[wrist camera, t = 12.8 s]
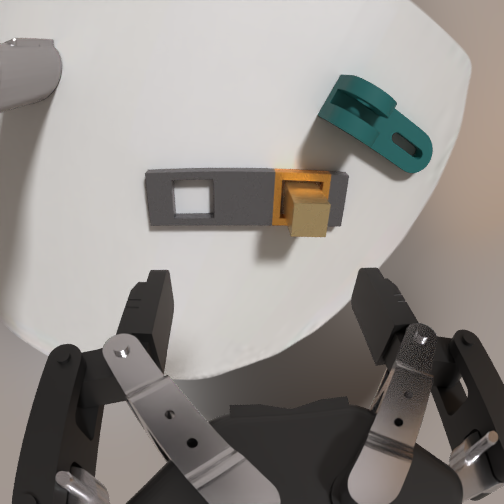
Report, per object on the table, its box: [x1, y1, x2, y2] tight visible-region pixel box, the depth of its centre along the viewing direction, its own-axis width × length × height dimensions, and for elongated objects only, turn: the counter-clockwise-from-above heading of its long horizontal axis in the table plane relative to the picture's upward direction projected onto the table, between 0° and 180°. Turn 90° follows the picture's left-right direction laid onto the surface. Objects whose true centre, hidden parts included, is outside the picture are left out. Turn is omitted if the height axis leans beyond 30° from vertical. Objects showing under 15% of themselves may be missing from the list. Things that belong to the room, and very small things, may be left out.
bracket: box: [318, 75, 433, 173], centre depth 37 cm, size 18×7×8 cm, turn 64°
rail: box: [145, 168, 349, 226], centre depth 44 cm, size 8×28×2 cm, turn 89°
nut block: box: [283, 181, 331, 237], centre depth 42 cm, size 4×4×8 cm
